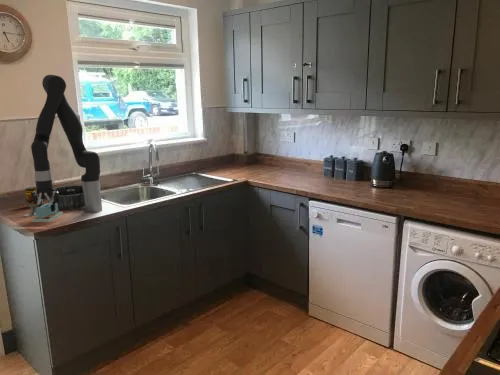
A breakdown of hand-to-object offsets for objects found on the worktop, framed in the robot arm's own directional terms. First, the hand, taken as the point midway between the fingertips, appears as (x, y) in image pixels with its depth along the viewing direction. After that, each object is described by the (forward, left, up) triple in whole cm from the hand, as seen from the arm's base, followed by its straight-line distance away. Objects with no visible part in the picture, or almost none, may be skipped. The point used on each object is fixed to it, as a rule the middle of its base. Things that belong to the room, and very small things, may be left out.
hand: (47, 211), depth 213 cm
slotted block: (0, 0, -1) cm, 1 cm away
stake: (-8, -12, -5) cm, 15 cm away
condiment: (-24, -22, -5) cm, 33 cm away
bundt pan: (-27, -1, -5) cm, 28 cm away
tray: (0, 0, -5) cm, 5 cm away
